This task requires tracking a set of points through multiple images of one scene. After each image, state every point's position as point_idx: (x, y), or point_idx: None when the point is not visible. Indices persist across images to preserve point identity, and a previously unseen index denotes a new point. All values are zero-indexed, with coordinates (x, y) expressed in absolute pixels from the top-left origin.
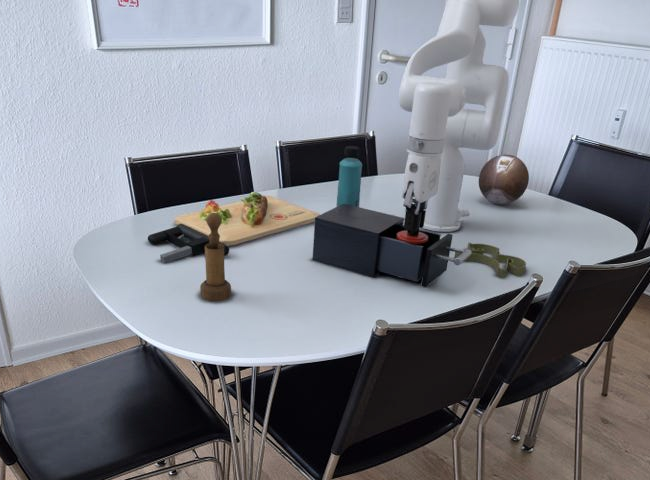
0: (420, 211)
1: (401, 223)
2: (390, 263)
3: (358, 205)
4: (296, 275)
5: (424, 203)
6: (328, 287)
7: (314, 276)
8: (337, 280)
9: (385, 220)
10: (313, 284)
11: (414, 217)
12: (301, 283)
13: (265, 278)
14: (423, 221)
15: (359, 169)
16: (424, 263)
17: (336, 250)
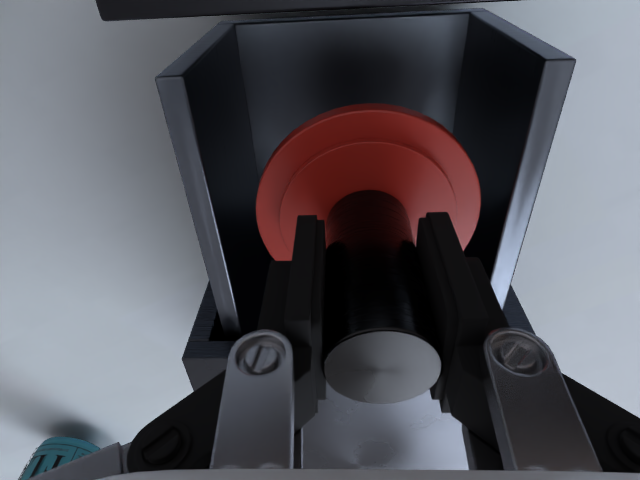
0: (359, 343)
1: (211, 338)
2: None
3: (36, 467)
4: (572, 363)
5: (292, 409)
6: (633, 271)
7: (557, 332)
8: (558, 276)
9: None
10: (624, 310)
11: (491, 319)
12: (629, 333)
13: (628, 397)
14: (312, 244)
15: None
16: (259, 81)
17: None
